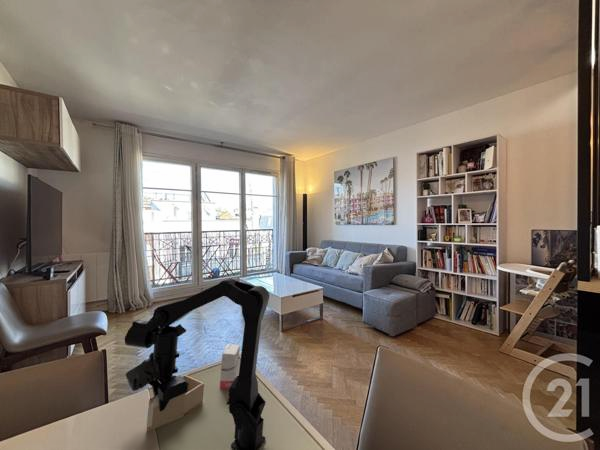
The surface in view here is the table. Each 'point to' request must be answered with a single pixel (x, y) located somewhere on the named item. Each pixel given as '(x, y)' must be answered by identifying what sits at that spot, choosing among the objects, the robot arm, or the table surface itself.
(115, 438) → the table surface
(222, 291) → the robot arm
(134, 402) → the table surface
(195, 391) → the carton
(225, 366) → the ink box
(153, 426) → the end flap
